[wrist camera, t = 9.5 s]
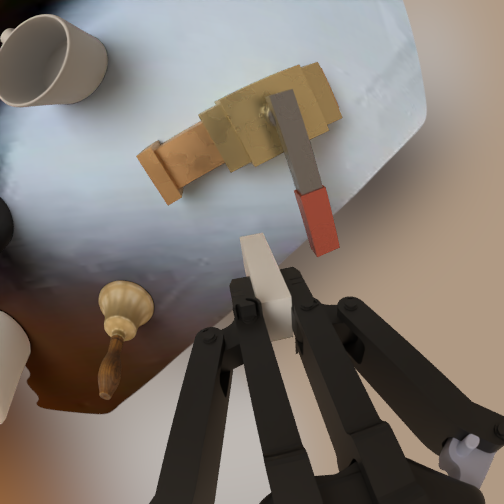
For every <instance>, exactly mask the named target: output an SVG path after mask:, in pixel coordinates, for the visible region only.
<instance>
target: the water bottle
mask: <svg viewBox="0 0 504 504" xmlns="http://www.w3.org/2000/svg"><path fill="white" fill-rule="evenodd" d="M12 236H13V220H12V216H11V213H10V210H9V208H8V206H7V205H6V203H5V202H4V201H3V200H2V199H1V198H0V253H1V252H2V250H3V249H4V248H5V247H6V246H7V245H8V244H9V243H10V241H11V239H12Z"/></svg>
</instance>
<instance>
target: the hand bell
mask: <svg viewBox="0 0 504 504" xmlns="http://www.w3.org/2000/svg"><path fill="white" fill-rule="evenodd" d="M99 306H100V308H101V311H102V312H103V314H104V315H105V322H104V328H105V330H106V332H107V334H108V335H109V336H110V337H111V340H110V346H109V350H108V353H107V355H106V356H105V357H104V359H103V361H102V363H101V365H100V369H99V373H98V384H99V390H100V397H101V398H103V399H106V400H108V399H110V398H111V396H112V394H113V393H114V391H115V390H116V388H117V386H118V384H119V381H120V377H121V362H120V353H121V349H122V345H123V343H124V341H128V340H130V339H132V338H133V337H134V336H135V335H136V332H137V329H138V327H139V326H141V325H143V324H145V323H146V322H147V321H148V320H149V319H150V318H151V317H152V315H153V311H154V304H153V300H152V298H151V296H150V295H149V293H148V292H147V291H146V290H144V288H142V287H141V286H139V285H137V284H135V283H133V282H129V281H114V282H111V283H109V284H107V285H106V286H104V287H103V289H102V290H101V292H100V294H99Z"/></svg>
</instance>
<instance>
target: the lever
mask: <svg viewBox="0 0 504 504" xmlns="http://www.w3.org/2000/svg"><path fill="white" fill-rule="evenodd" d="M265 99H266V102H267V104H268V106H267V107H266V109H265V112H264V117H265V120H266V121H267V123H268V124H270V125H271V126H274V127H276V130H277V133H278V136H279V138H280V141H281V144H282V147H283V150H284V153H285V156H286V159H287V162H288V166H289V169H290V172H291V175H292V178H293V181H294V184H295V188H296V190H295V191H294V193H295V196H296V199H297V203H298V206H299V209H300V212H301V216H302V219H303V223H304V226H305V229H306V233H307V236H308V239H309V243H310V247H311V249H312V250H313V252H314V253H315V254H316V256H317V257H319V256H321V255H323V254H326V253H328V252H330V251H333V250H335V249H337V248H339V242H338V237H337V233H336V229H335V224H334V220H333V215H332V211H331V207H330V203H329V199H328V195H327V191H326V187H325V186H323V185H322V183H321V179H320V175H319V172H318V168H317V164H316V161H315V157H314V154H313V151H312V147H311V144H310V141H309V137H308V134H307V131H306V128H305V124H304V121H303V118H302V115H301V112H300V109H299V106H298V103H297V100H296V97H295V94H294V91H293V89H290V90H285V91H282V92H278V93H275V94H272V95H269V96H266V97H265Z"/></svg>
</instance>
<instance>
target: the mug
mask: <svg viewBox="0 0 504 504" xmlns="http://www.w3.org/2000/svg"><path fill="white" fill-rule="evenodd" d="M0 39H1V42H2V43H3V45H2V47H1V49H0V99H1V100H2V101H3V102H5V103H6V104H8V105H10V106H13V107H29V106H40V105H53V104H72V103H76V102H79V101H81V100H83V99H85V98H87V97H88V96H89V95H91V94H92V93H93V92H94V91H95V90H96V89H97V88H98V86H99V85H100V83H101V82H102V80H103V78H104V76H105V73H106V70H107V63H108V58H107V52H106V49H105V47H104V45H103V44H102V43H101V42H100V41H99V40H98V39H97V38H95V37H94V36H92V35H90V34H88V33H86V32H84V31H83V30H81V29H79V28H78V27H76V26H74V25H73V24H71V23H69V22H67V21H66V20H64V19H62V18H60V17H58V16H55V15H50V14H43V15H38V16H35V17H32V18H30V19H28V20H26V21H25V22H23V23H22V24H20V25H19V26H18V27H17V28H16V29H12V28H9V29H6V30H5V31H4V32H3V33H2V35H1V38H0Z"/></svg>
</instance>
